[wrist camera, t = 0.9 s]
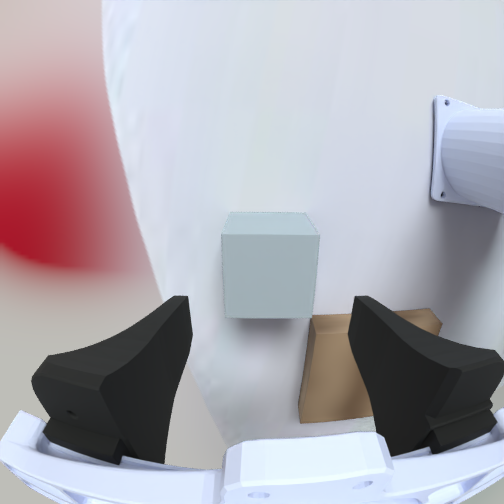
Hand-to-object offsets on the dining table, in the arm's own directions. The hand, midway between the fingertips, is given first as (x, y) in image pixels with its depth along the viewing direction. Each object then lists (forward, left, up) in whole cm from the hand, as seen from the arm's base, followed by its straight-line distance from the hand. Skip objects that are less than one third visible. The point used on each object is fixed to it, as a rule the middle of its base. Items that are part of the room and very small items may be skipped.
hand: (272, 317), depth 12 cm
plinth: (-9, +11, -8) cm, 17 cm away
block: (0, 0, -9) cm, 9 cm away
